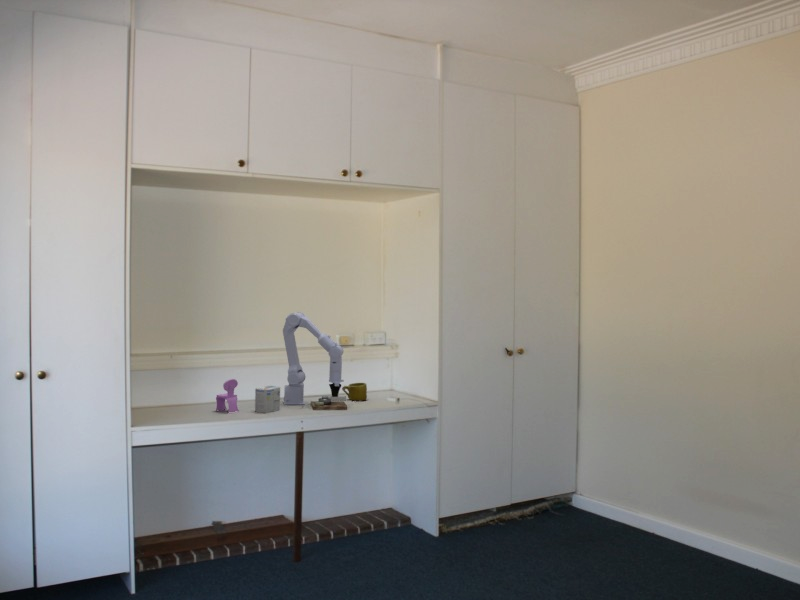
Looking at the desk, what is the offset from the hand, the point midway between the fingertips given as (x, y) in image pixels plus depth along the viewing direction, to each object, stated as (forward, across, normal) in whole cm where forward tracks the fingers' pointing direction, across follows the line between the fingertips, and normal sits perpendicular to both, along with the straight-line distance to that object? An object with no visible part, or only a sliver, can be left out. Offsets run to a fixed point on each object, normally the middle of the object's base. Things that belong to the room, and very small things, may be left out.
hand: (334, 399), depth 363 cm
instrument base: (+3, -3, +3) cm, 5 cm away
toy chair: (+4, -11, +50) cm, 52 cm away
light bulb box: (+4, -10, +32) cm, 34 cm away
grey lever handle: (+2, -3, +1) cm, 3 cm away
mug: (+4, +17, -12) cm, 21 cm away
